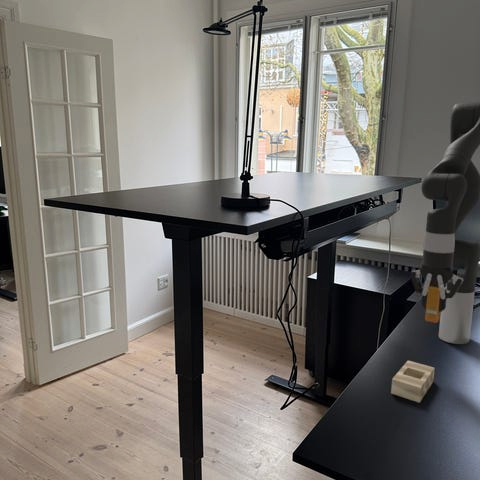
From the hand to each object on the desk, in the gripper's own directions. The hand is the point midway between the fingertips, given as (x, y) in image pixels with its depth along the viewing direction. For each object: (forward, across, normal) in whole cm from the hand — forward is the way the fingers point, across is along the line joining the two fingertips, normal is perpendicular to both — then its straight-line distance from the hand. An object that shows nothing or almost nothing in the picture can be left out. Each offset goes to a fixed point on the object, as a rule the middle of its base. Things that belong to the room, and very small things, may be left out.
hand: (433, 309), depth 121 cm
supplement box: (+3, 0, 0) cm, 3 cm away
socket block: (+18, 0, +13) cm, 22 cm away
